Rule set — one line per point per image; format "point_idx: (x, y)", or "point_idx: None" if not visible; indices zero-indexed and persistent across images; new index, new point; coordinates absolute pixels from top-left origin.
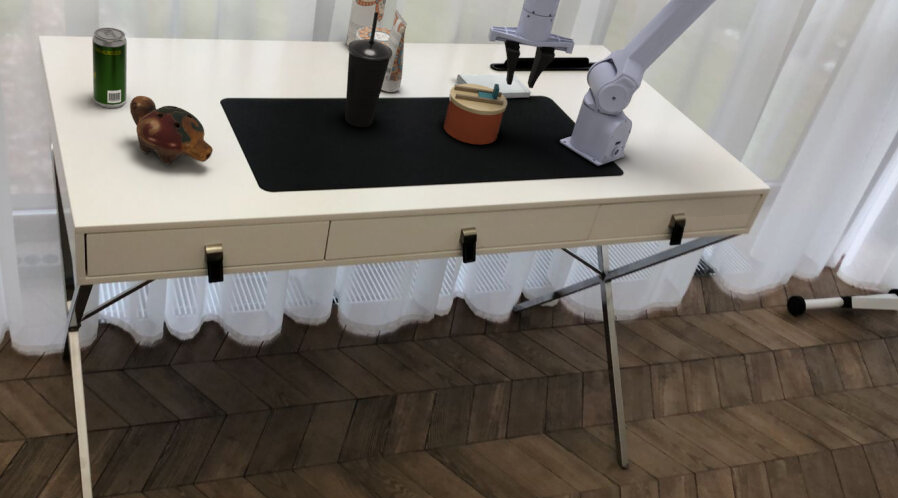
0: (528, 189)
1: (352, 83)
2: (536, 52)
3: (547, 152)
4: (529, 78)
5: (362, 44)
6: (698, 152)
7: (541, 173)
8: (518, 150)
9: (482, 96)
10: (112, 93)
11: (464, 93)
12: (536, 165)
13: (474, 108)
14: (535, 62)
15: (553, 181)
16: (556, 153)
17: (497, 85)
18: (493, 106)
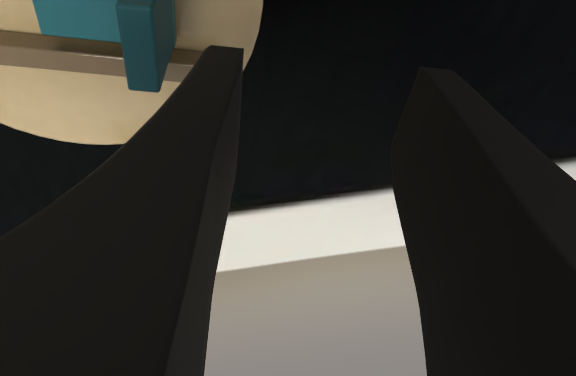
0: (300, 233)
1: None
2: (566, 348)
3: (471, 37)
4: (422, 126)
5: None
6: None
7: (372, 168)
8: (337, 42)
9: (62, 24)
10: None
11: None
12: (374, 130)
13: (43, 131)
14: (477, 295)
15: (394, 197)
16: (511, 38)
17: (141, 36)
18: (156, 93)
